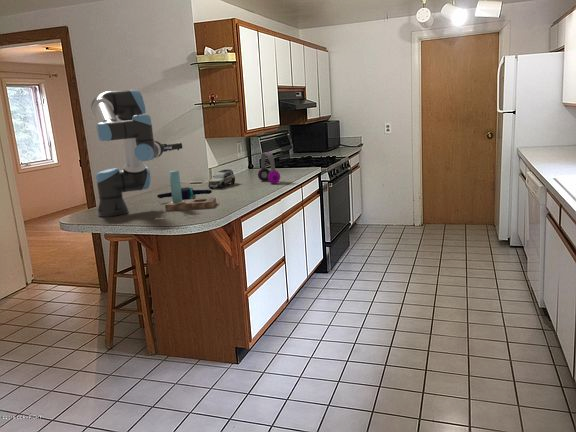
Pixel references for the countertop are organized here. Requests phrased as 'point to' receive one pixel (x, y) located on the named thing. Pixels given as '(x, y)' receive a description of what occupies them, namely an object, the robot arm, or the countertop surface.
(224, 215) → the countertop surface
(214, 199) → the pocket block
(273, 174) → the headphones
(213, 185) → the toy car
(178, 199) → the peg
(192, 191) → the toy
